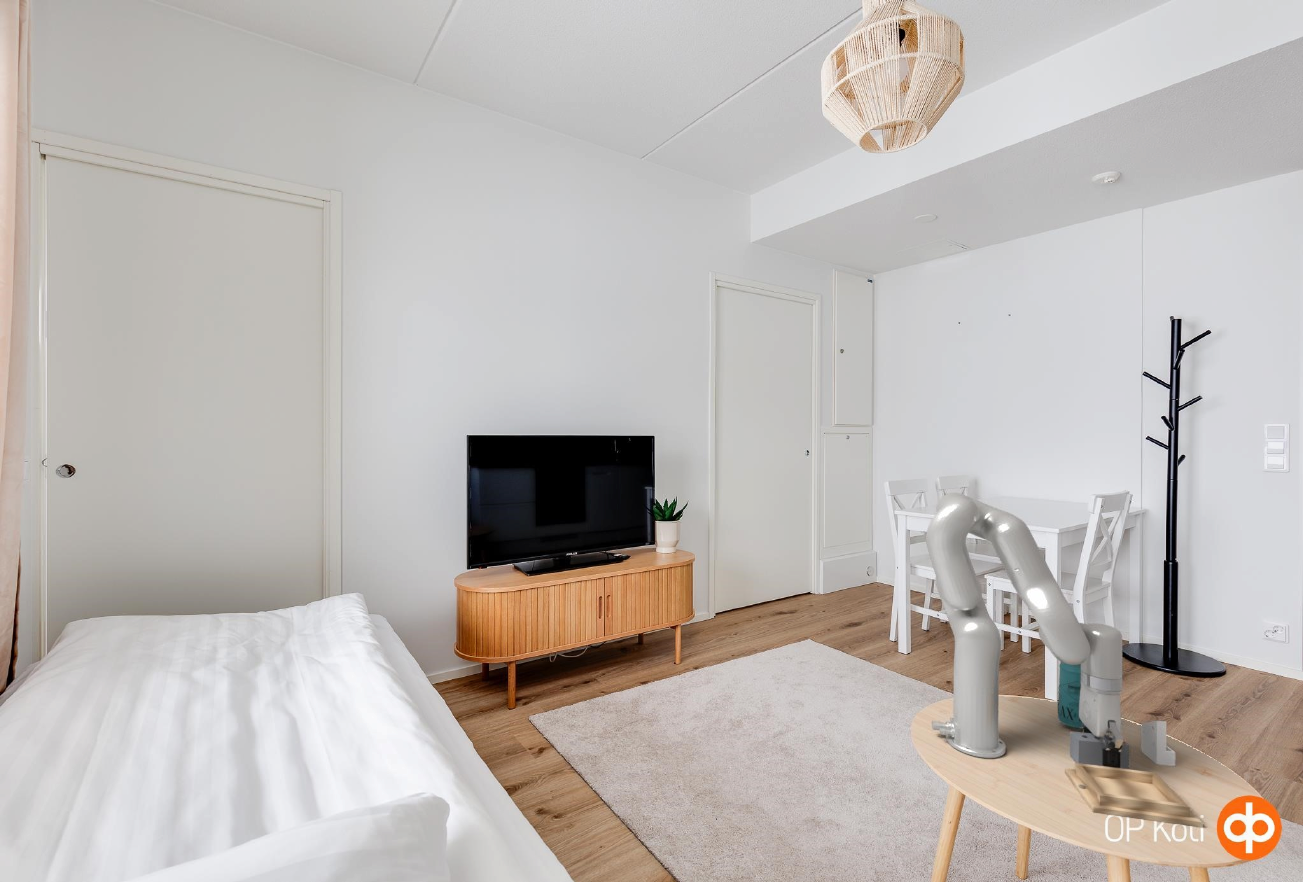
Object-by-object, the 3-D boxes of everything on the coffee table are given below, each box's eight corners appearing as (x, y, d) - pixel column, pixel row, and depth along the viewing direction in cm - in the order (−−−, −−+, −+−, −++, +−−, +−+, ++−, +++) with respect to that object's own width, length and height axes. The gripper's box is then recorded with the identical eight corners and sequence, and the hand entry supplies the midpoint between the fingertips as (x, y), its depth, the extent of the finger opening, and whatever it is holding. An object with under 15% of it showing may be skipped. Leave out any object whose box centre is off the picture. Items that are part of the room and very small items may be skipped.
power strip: (1078, 766, 136) (1078, 739, 136) (1070, 757, 140) (1070, 730, 139) (1129, 771, 134) (1129, 743, 133) (1119, 761, 138) (1119, 734, 137)
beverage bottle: (1052, 720, 156) (1053, 644, 156) (1080, 722, 155) (1081, 645, 155) (1065, 733, 150) (1067, 653, 149) (1095, 735, 149) (1096, 655, 148)
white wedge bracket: (1169, 764, 132) (1157, 720, 136) (1144, 764, 141) (1134, 723, 145) (1188, 766, 131) (1175, 722, 135) (1162, 766, 140) (1151, 725, 144)
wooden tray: (1093, 812, 120) (1093, 797, 119) (1064, 772, 133) (1064, 759, 133) (1202, 827, 115) (1202, 811, 115) (1161, 784, 128) (1161, 771, 128)
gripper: (1066, 664, 145) (1066, 734, 146) (1099, 695, 129) (1099, 774, 129) (1102, 667, 143) (1102, 738, 144) (1140, 699, 127) (1140, 779, 127)
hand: (1100, 755), depth 136 cm, fingers open, 9 cm apart
